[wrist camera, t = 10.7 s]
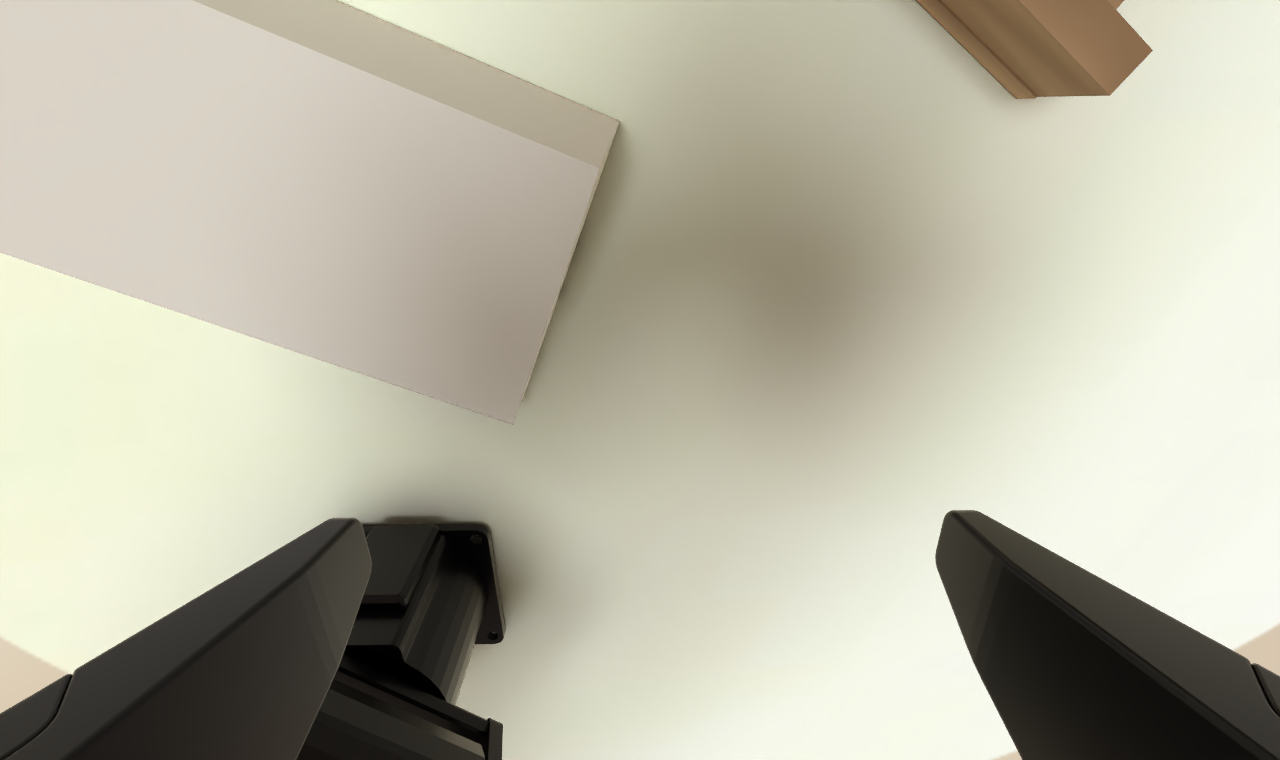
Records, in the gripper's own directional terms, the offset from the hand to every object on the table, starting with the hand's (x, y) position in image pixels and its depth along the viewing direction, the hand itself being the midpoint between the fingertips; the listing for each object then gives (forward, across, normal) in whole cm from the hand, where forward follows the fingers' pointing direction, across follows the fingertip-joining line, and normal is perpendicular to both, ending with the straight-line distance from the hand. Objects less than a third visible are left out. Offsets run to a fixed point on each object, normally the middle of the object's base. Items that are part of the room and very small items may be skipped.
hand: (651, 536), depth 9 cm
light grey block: (+14, +19, -7) cm, 24 cm away
